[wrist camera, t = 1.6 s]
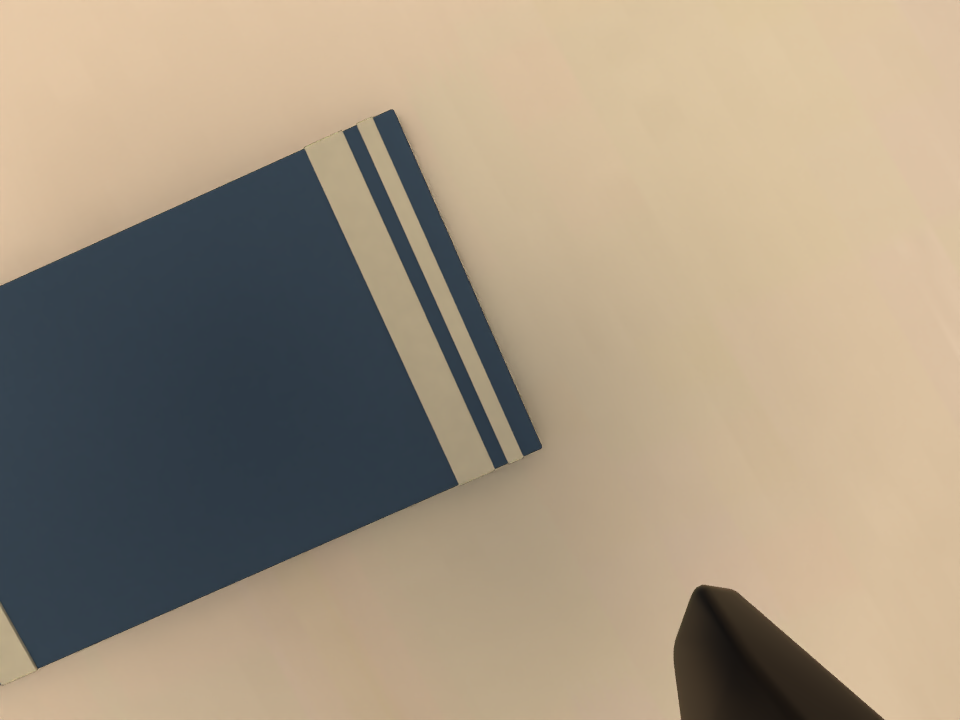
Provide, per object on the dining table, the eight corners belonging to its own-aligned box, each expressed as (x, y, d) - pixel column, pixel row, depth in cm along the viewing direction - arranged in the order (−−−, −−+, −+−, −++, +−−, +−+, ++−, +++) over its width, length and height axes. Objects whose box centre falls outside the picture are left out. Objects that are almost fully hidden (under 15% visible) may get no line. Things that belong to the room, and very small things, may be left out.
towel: (-25, 689, 23) (-45, 706, 22) (-201, 383, 22) (-230, 387, 21) (540, 442, 23) (543, 449, 22) (395, 114, 21) (392, 107, 20)
